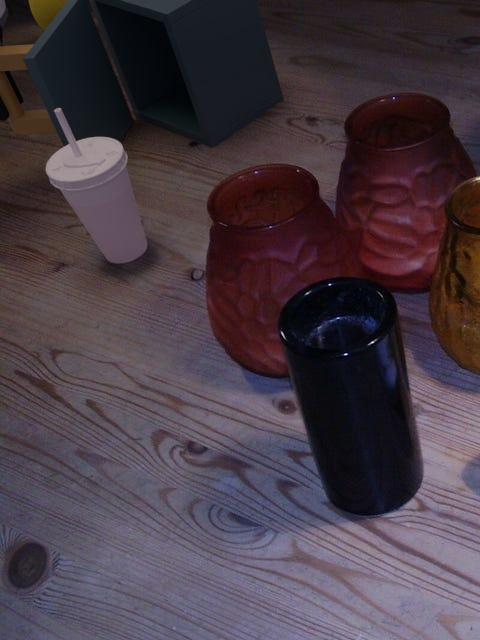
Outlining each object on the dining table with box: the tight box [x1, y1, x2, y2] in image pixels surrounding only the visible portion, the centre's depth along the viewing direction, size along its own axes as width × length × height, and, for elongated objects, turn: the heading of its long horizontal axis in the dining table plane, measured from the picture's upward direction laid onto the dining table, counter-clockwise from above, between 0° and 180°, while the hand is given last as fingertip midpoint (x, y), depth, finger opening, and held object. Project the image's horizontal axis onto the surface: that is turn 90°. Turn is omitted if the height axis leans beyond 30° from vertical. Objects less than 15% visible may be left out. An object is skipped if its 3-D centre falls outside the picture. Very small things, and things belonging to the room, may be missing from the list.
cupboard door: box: [0, 0, 135, 147], centre depth 94 cm, size 6×12×14 cm, turn 176°
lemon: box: [28, 0, 68, 31], centre depth 115 cm, size 6×6×8 cm
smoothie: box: [45, 108, 148, 264], centre depth 83 cm, size 6×6×14 cm
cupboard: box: [88, 0, 285, 149], centre depth 98 cm, size 10×12×14 cm
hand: (0, 110), depth 92 cm, fingers closed, pressing on cupboard door
